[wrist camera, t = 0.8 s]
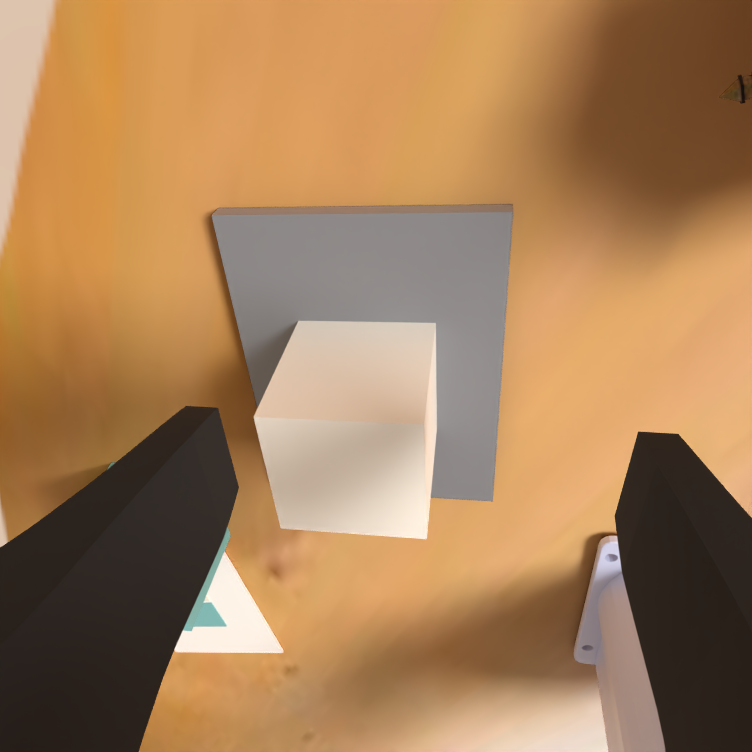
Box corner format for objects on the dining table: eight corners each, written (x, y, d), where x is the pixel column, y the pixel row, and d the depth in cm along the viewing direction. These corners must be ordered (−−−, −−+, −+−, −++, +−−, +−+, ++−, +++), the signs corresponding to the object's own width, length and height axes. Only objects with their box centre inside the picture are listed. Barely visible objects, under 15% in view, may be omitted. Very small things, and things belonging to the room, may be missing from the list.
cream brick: (436, 429, 22) (426, 539, 18) (315, 424, 23) (280, 528, 19) (435, 322, 20) (424, 424, 16) (298, 320, 20) (253, 417, 16)
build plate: (492, 490, 25) (492, 501, 24) (279, 477, 26) (276, 488, 25) (512, 204, 17) (513, 211, 17) (218, 207, 19) (211, 215, 18)
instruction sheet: (283, 650, 35) (282, 653, 35) (176, 649, 37) (175, 653, 36) (216, 538, 29) (215, 541, 29) (95, 543, 31) (93, 547, 31)
